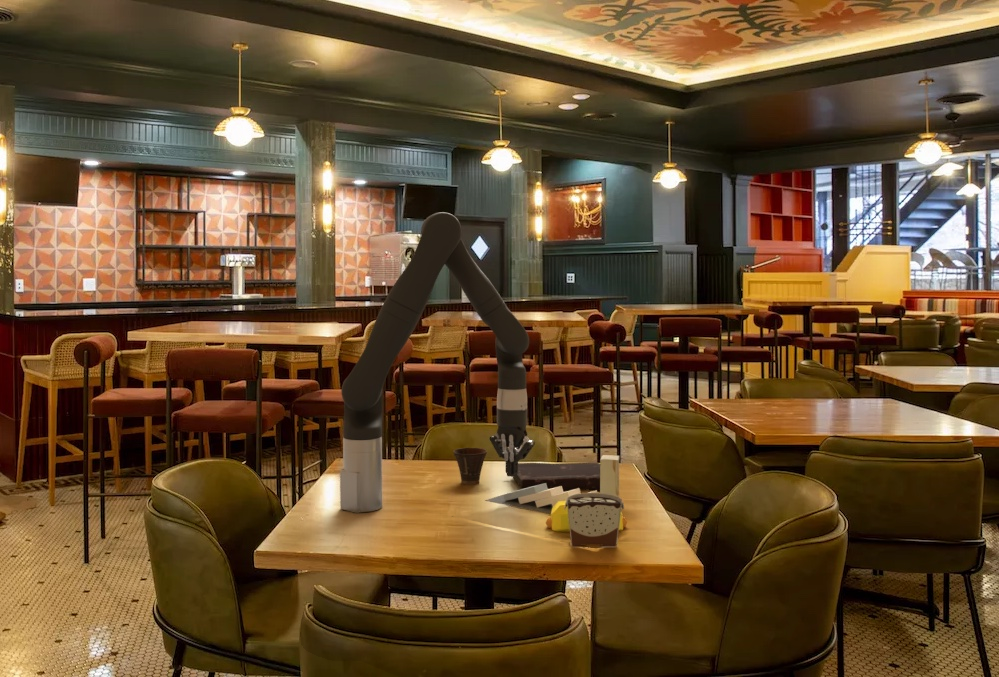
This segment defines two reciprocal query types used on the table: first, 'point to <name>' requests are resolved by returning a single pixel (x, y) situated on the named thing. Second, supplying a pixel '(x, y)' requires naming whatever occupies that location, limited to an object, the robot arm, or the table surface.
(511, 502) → the mat
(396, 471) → the table surface
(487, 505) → the table surface
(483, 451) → the cup
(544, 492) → the domino
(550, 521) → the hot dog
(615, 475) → the skincare box
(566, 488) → the diary
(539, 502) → the domino
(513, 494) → the domino
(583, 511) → the food container
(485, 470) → the table surface
